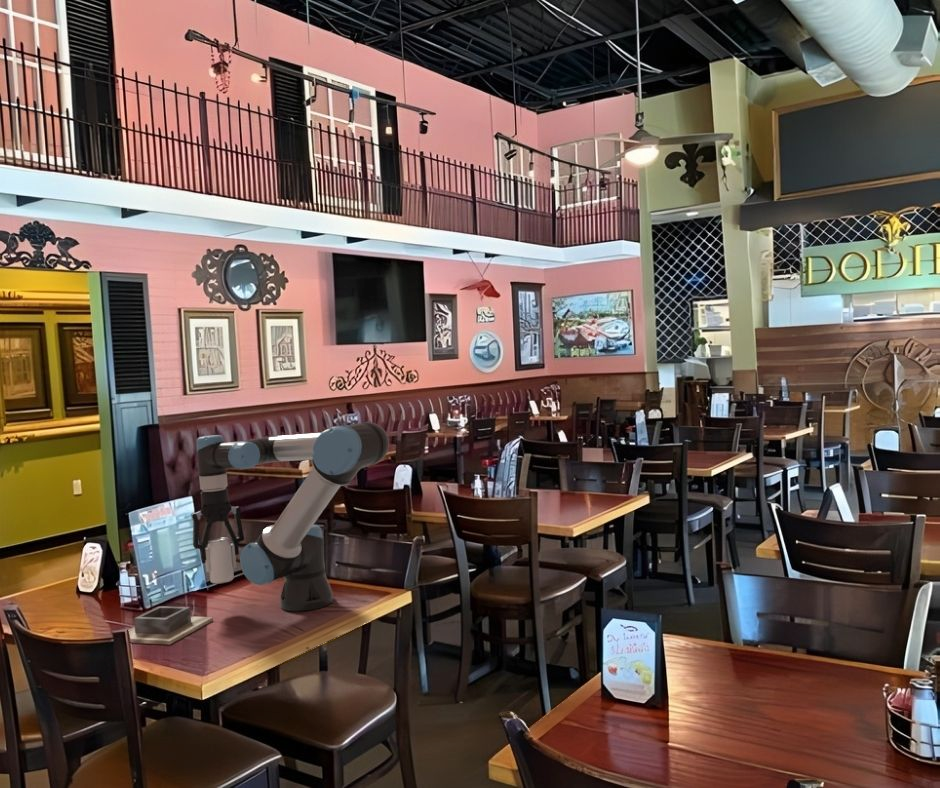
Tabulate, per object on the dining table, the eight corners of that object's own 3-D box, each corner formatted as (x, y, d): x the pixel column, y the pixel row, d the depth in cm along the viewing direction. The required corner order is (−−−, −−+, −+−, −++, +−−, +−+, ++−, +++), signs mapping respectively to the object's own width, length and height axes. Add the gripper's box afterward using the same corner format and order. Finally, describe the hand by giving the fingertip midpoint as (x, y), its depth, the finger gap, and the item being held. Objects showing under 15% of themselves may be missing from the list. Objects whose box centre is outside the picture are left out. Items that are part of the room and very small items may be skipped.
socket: (212, 620, 214) (211, 603, 213) (169, 644, 196) (168, 625, 196) (158, 618, 219) (157, 601, 219) (112, 641, 202) (110, 622, 201)
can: (237, 577, 224) (234, 536, 224) (228, 583, 218) (224, 541, 217) (216, 578, 225) (212, 537, 224) (206, 584, 218) (202, 542, 218)
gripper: (245, 483, 228) (252, 560, 229) (176, 492, 219) (183, 572, 220) (251, 485, 222) (258, 565, 222) (180, 495, 212) (187, 578, 213)
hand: (221, 568), depth 221 cm, fingers closed on can, 6 cm apart
